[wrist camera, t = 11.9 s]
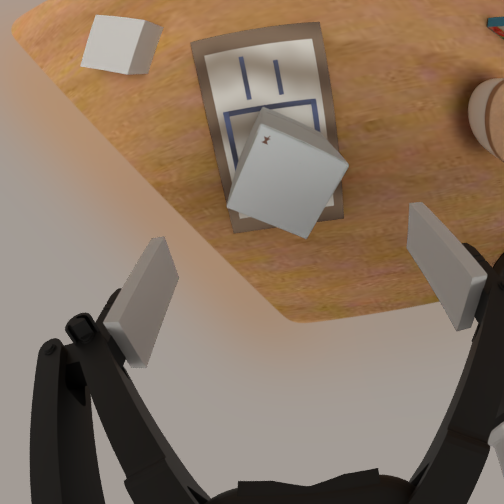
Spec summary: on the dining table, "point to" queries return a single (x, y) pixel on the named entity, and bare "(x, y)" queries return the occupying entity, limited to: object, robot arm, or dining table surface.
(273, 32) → the brown framed board
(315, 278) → the dining table surface
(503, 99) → the lidded jar
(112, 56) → the gray cube
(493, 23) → the yogurt
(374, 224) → the dining table surface
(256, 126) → the supplement box
